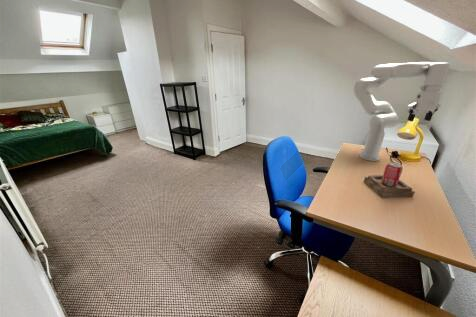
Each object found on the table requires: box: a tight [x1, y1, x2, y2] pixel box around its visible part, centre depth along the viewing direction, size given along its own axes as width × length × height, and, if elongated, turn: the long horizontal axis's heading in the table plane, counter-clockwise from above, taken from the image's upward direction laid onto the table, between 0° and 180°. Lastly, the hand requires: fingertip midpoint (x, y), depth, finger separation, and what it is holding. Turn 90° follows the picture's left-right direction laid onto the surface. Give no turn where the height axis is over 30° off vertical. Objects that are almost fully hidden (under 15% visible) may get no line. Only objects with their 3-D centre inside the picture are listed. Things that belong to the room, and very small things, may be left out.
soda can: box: [382, 161, 403, 186], centre depth 107 cm, size 7×7×12 cm
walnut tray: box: [363, 174, 415, 199], centre depth 110 cm, size 16×16×4 cm
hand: (418, 120), depth 112 cm, fingers open, 9 cm apart
